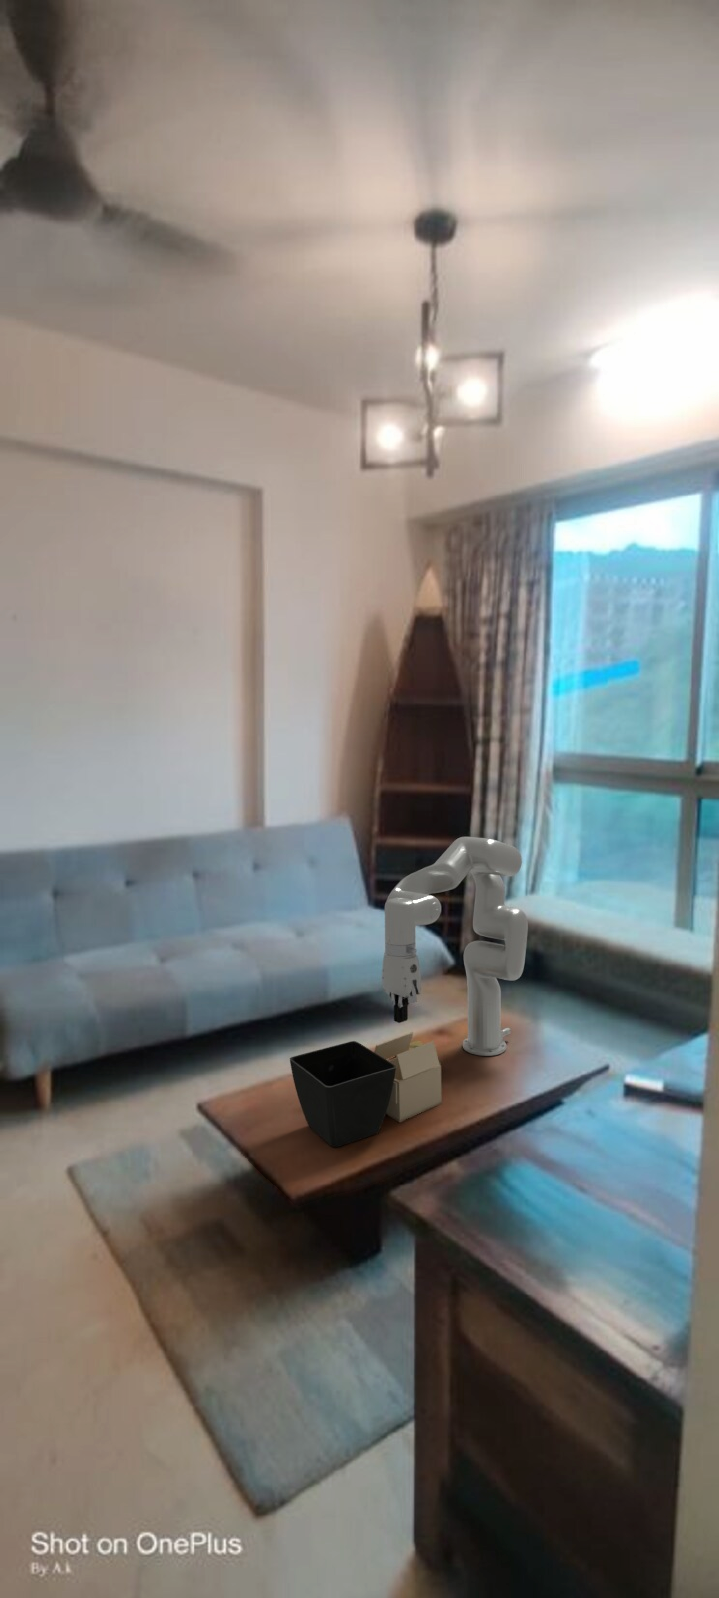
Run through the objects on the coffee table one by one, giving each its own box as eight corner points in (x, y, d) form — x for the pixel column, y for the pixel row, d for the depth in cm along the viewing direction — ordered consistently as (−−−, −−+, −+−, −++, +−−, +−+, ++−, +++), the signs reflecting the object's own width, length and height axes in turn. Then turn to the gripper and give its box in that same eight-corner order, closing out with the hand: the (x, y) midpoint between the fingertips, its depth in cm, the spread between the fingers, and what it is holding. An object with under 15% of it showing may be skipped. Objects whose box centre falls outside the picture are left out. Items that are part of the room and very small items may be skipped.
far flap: (408, 1050, 206) (407, 1049, 206) (413, 1032, 203) (412, 1031, 204) (372, 1064, 198) (371, 1063, 198) (377, 1045, 196) (376, 1044, 196)
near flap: (432, 1041, 198) (433, 1041, 198) (438, 1064, 197) (439, 1064, 197) (396, 1055, 190) (397, 1055, 190) (402, 1079, 189) (403, 1079, 189)
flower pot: (356, 1102, 200) (354, 1038, 199) (399, 1134, 185) (398, 1065, 183) (289, 1124, 190) (287, 1057, 189) (329, 1160, 175) (327, 1087, 173)
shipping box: (413, 1087, 207) (412, 1051, 206) (442, 1102, 199) (442, 1064, 198) (369, 1106, 198) (368, 1068, 197) (398, 1123, 190) (397, 1083, 189)
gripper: (432, 952, 192) (432, 1025, 193) (391, 939, 203) (392, 1009, 205) (409, 958, 187) (410, 1033, 188) (369, 945, 198) (370, 1016, 200)
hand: (400, 1020), depth 197 cm, fingers closed
